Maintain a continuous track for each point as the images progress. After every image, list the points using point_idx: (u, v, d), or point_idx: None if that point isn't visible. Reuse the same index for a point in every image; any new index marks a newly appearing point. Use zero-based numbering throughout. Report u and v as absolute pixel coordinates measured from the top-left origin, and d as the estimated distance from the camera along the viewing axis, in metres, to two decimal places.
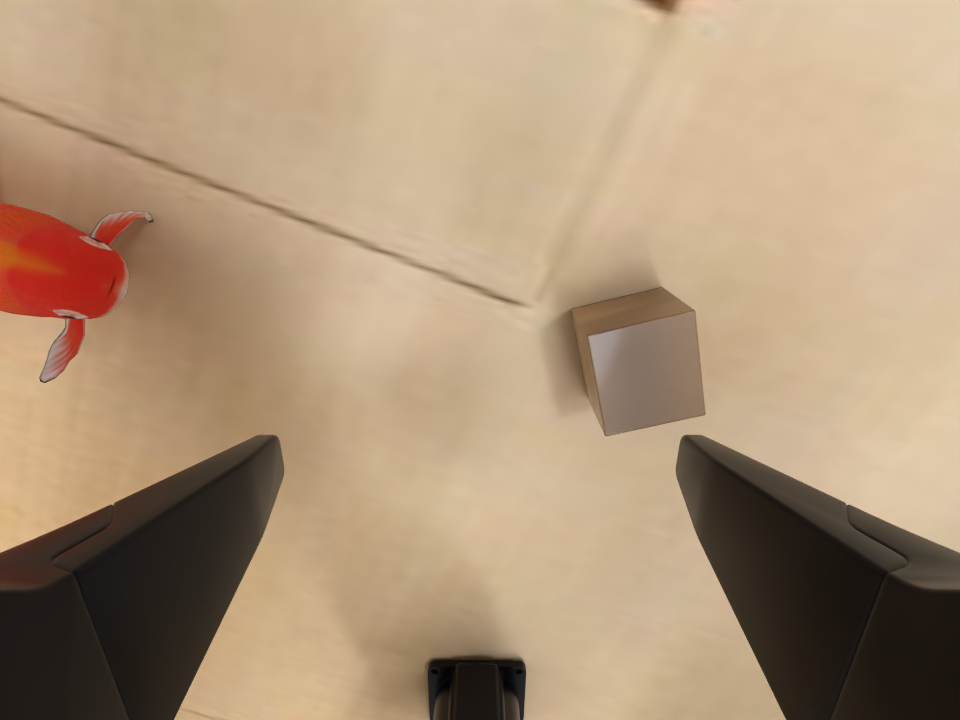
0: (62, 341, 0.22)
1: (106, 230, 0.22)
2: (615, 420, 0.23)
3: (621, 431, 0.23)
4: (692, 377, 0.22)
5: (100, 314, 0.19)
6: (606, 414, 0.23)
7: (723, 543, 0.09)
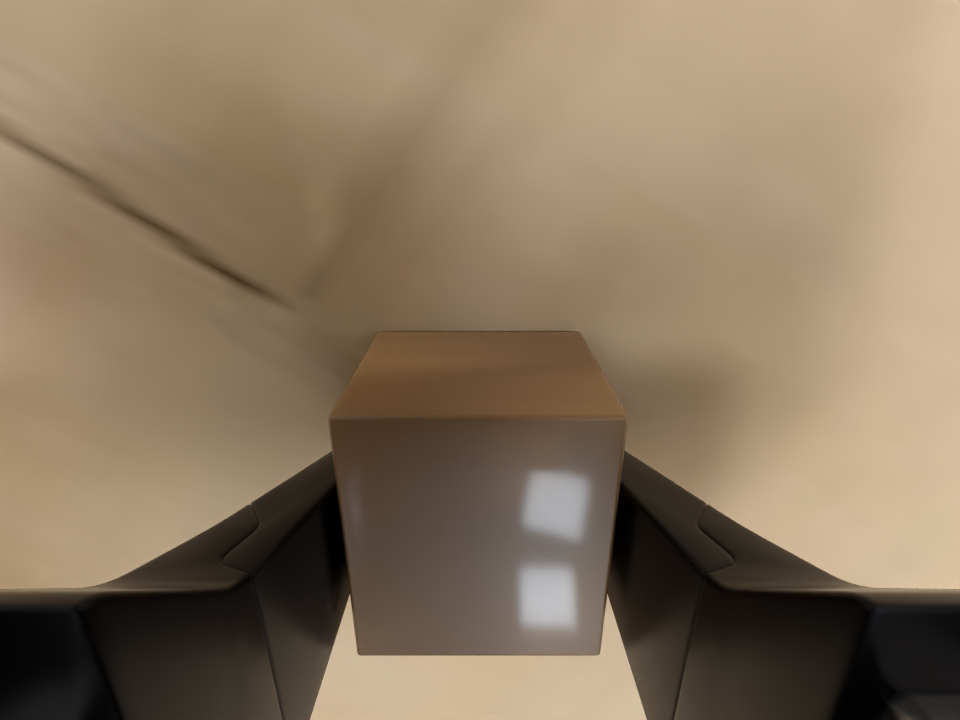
0: None
1: None
2: (385, 627, 0.09)
3: (396, 653, 0.09)
4: (586, 573, 0.09)
5: None
6: (364, 612, 0.09)
7: None
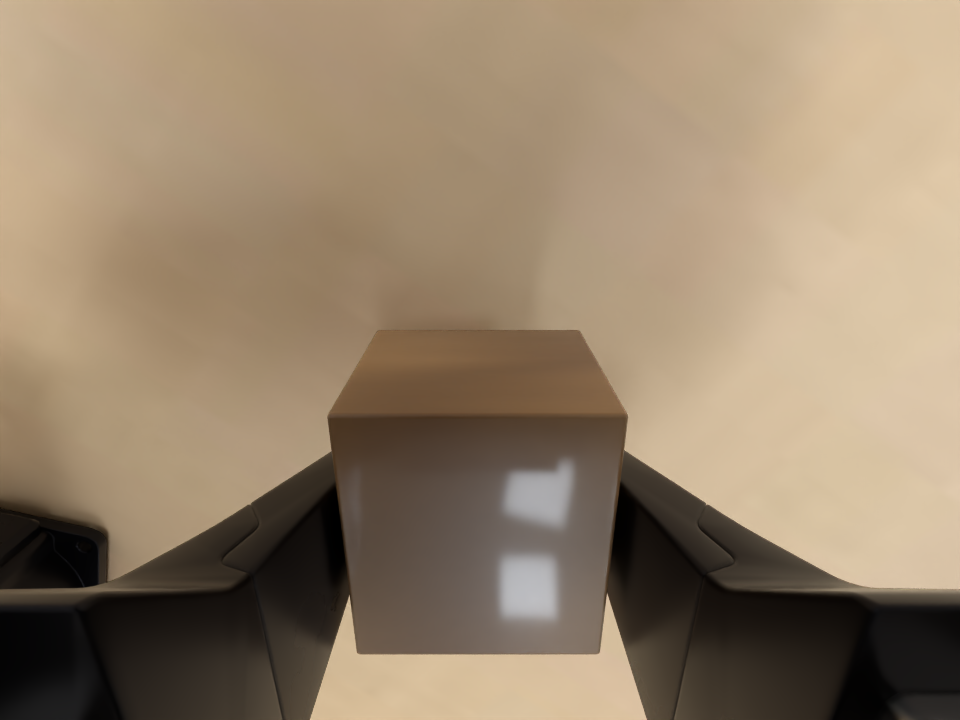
0: None
1: None
2: (384, 626, 0.09)
3: (396, 652, 0.09)
4: (586, 571, 0.09)
5: None
6: (363, 611, 0.09)
7: None
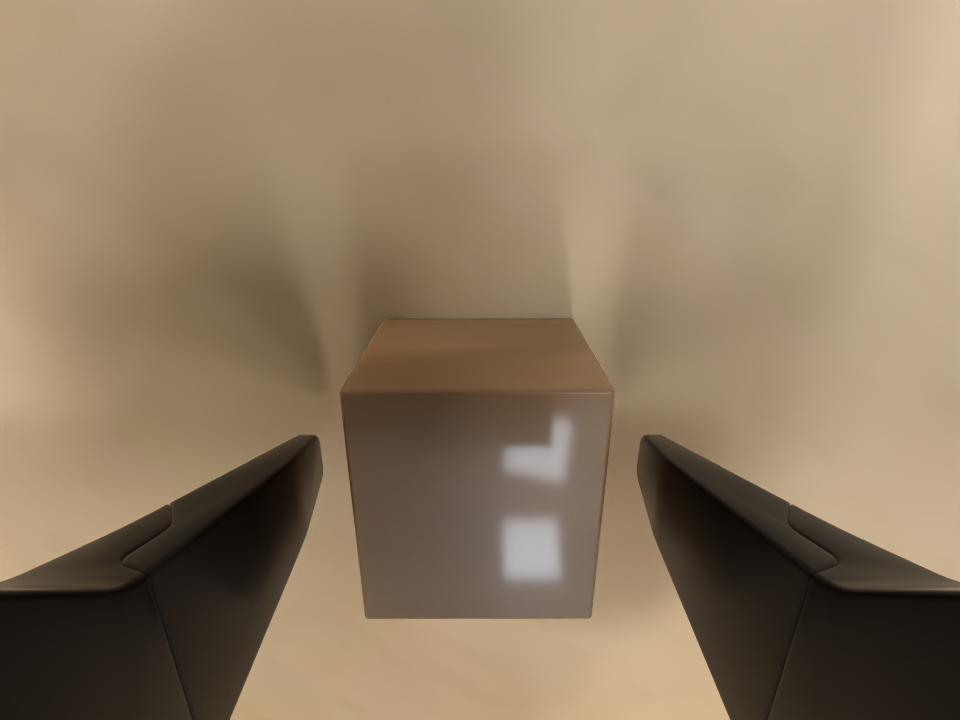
0: None
1: None
2: (391, 592, 0.10)
3: (401, 616, 0.10)
4: (578, 539, 0.09)
5: None
6: (371, 576, 0.10)
7: (676, 543, 0.09)
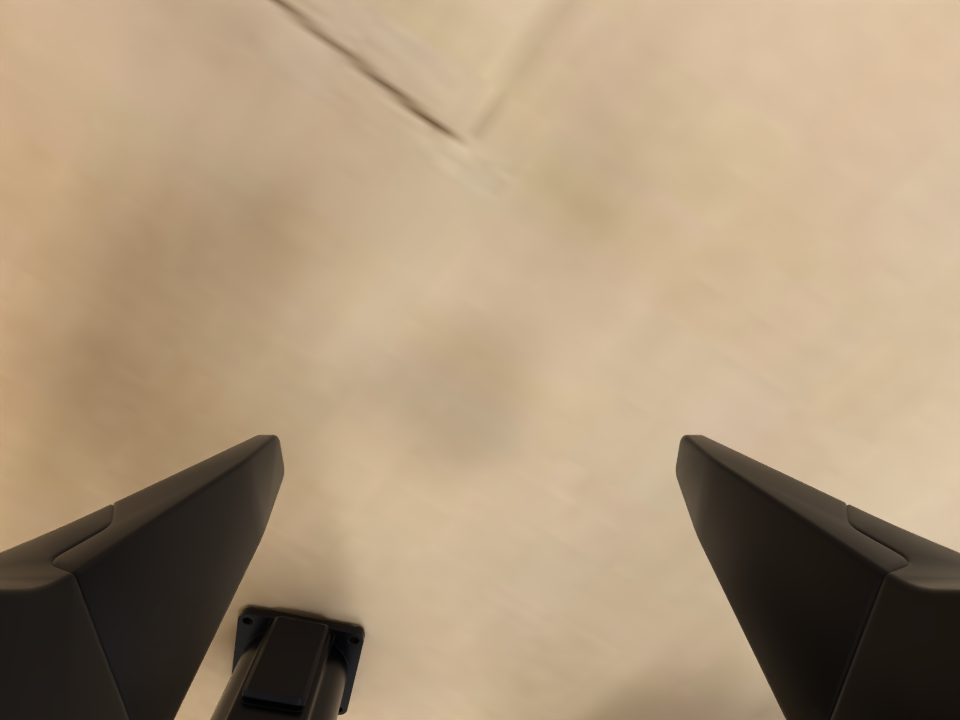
0: None
1: None
2: None
3: None
4: None
5: None
6: None
7: (723, 543, 0.09)
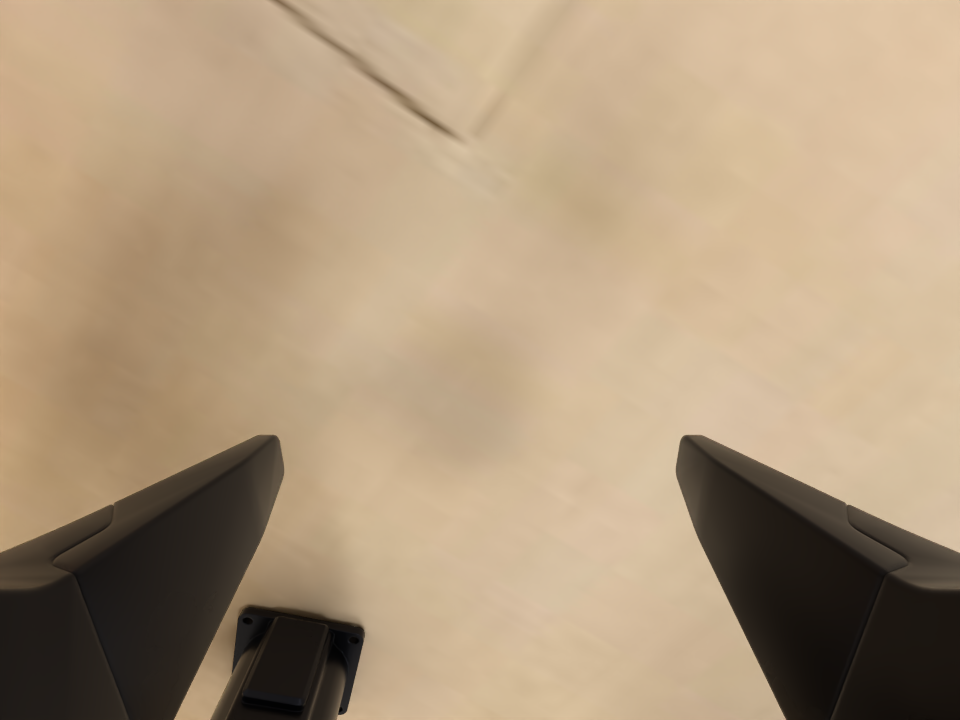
0: None
1: None
2: None
3: None
4: None
5: None
6: None
7: (723, 543, 0.09)
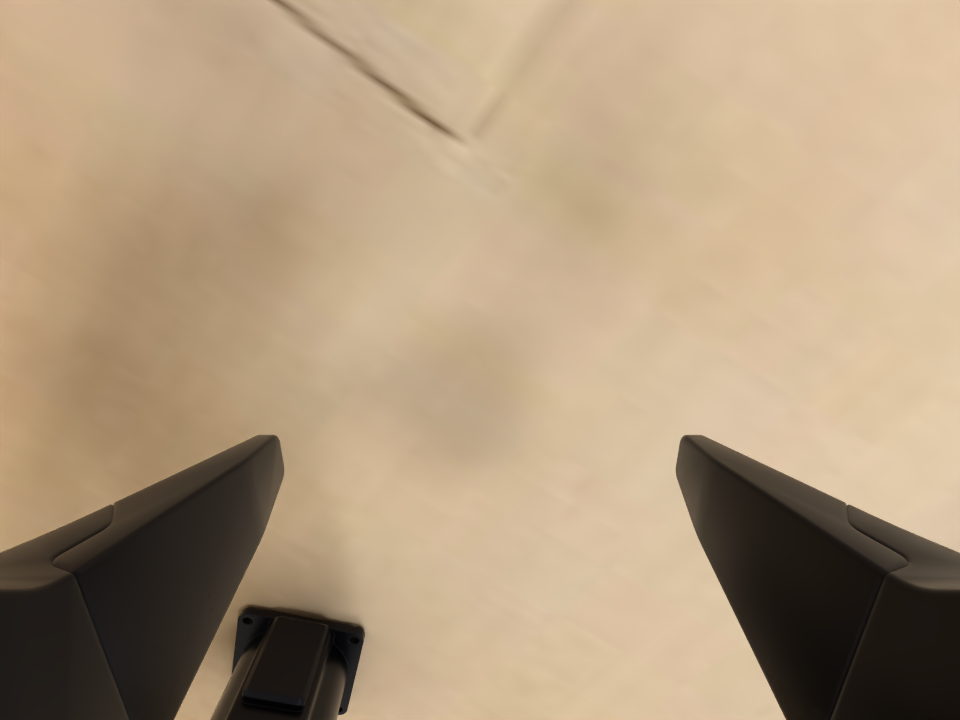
0: None
1: None
2: None
3: None
4: None
5: None
6: None
7: (723, 543, 0.09)
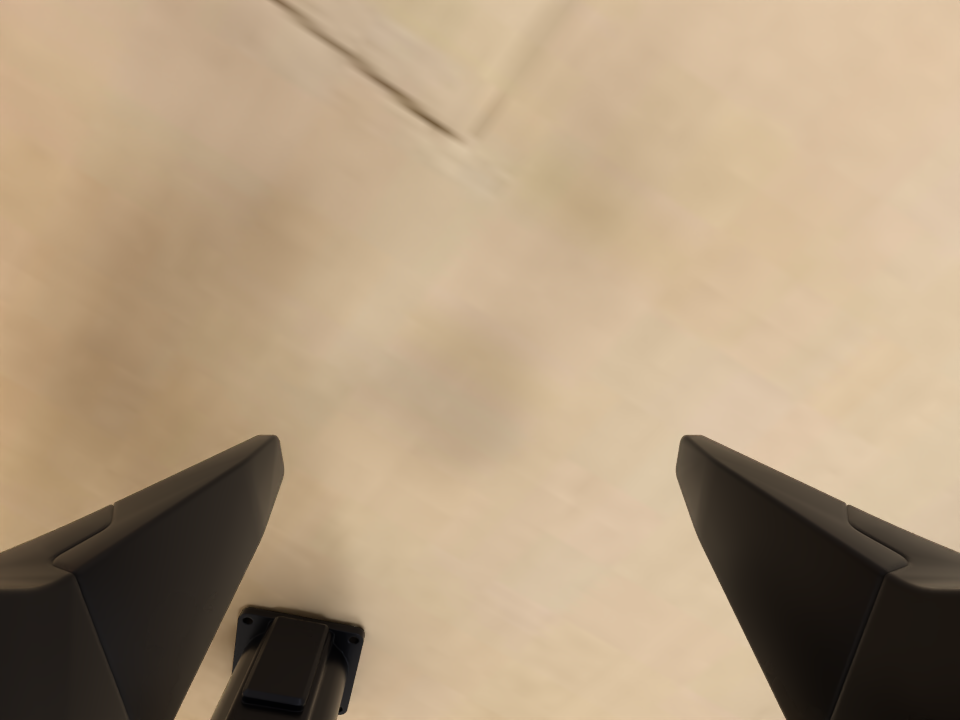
0: None
1: None
2: None
3: None
4: None
5: None
6: None
7: (723, 543, 0.09)
